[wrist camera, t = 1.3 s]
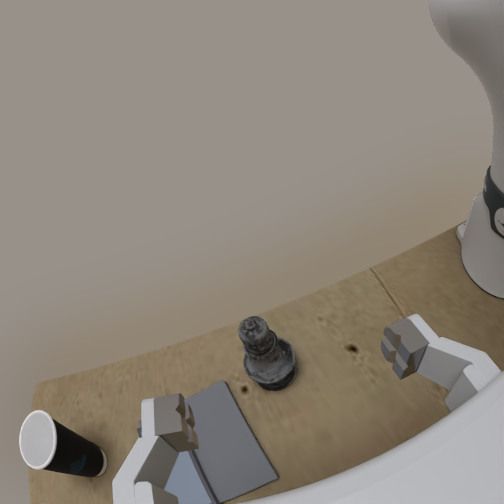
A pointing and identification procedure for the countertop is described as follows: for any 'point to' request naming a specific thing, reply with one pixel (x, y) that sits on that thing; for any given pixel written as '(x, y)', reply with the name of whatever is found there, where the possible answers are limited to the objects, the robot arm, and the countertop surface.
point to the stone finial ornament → (267, 355)
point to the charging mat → (227, 445)
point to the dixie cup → (58, 448)
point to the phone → (189, 480)
